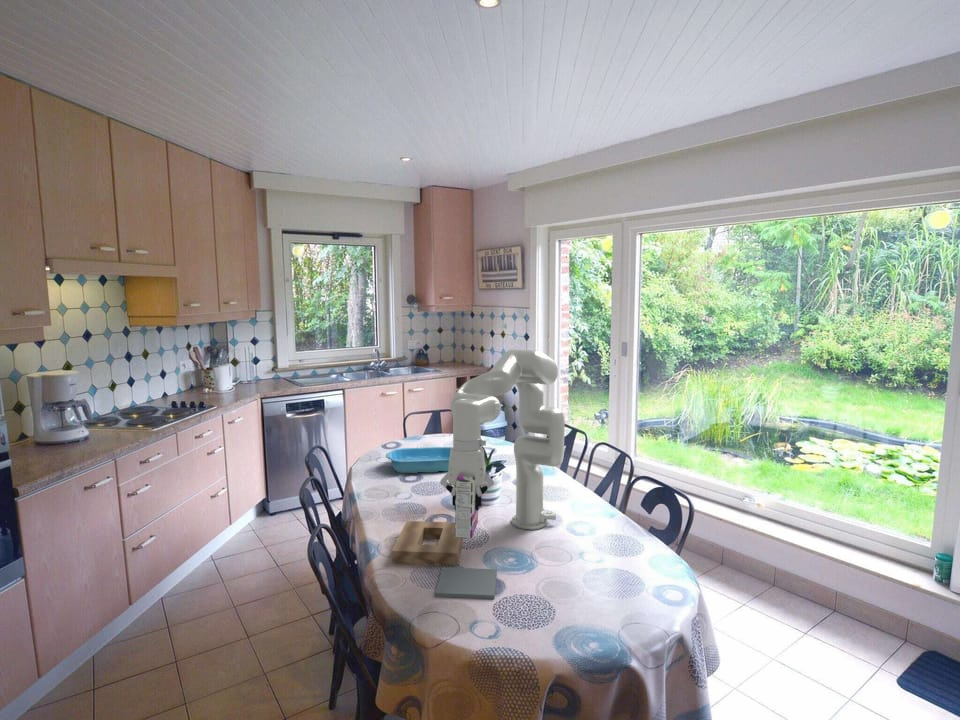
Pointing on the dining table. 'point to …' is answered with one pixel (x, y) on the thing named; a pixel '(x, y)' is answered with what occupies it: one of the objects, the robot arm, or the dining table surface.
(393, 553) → the pocket holder
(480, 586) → the charcoal mat
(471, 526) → the candy bar box
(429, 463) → the casserole dish
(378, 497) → the dining table surface
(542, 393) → the robot arm
